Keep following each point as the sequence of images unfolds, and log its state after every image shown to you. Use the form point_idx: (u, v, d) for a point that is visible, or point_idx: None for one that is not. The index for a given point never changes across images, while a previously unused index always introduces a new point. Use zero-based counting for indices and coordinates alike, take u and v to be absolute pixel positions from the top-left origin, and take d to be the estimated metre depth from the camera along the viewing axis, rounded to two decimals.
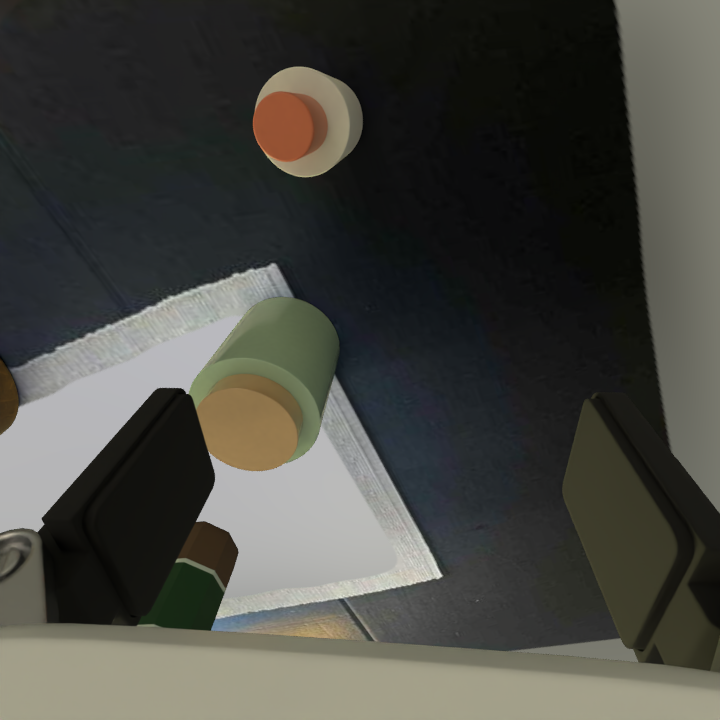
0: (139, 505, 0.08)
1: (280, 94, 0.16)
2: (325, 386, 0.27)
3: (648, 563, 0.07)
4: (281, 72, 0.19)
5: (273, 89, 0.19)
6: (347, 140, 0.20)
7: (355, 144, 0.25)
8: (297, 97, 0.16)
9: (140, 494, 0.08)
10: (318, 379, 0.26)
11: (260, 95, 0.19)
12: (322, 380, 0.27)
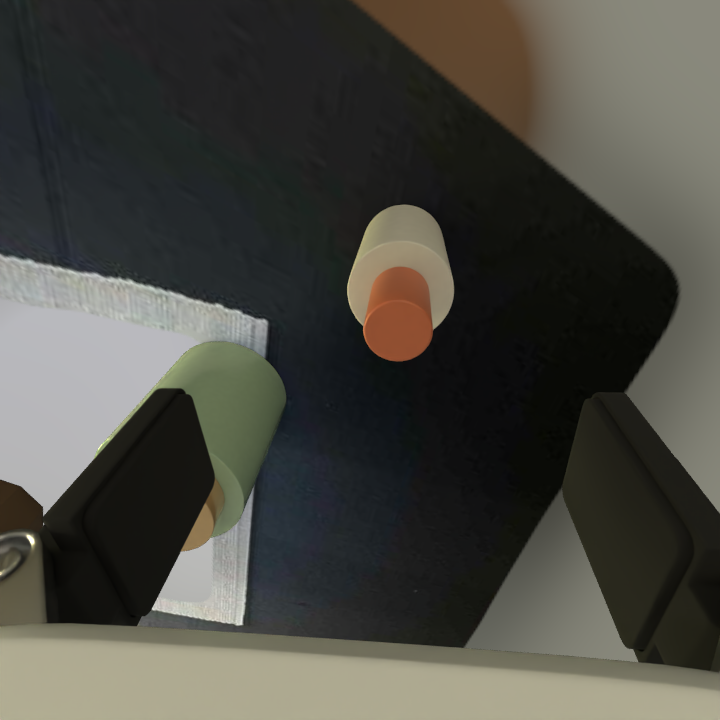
0: (139, 505, 0.08)
1: (417, 309, 0.14)
2: None
3: (648, 563, 0.07)
4: (415, 244, 0.17)
5: (397, 251, 0.17)
6: None
7: None
8: (430, 319, 0.15)
9: (140, 494, 0.08)
10: (255, 478, 0.24)
11: (381, 246, 0.17)
12: (257, 476, 0.25)
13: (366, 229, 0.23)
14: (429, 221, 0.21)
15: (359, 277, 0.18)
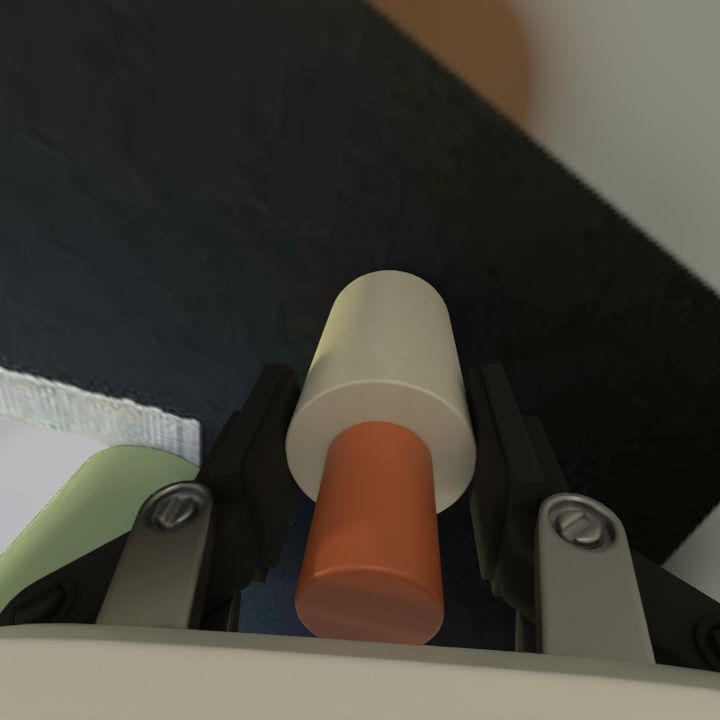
0: (272, 465, 0.09)
1: (410, 586, 0.06)
2: None
3: (489, 501, 0.08)
4: (405, 385, 0.09)
5: (371, 396, 0.09)
6: None
7: None
8: (438, 597, 0.07)
9: (273, 455, 0.09)
10: None
11: (341, 387, 0.09)
12: None
13: (332, 307, 0.15)
14: (429, 304, 0.13)
15: (304, 435, 0.10)
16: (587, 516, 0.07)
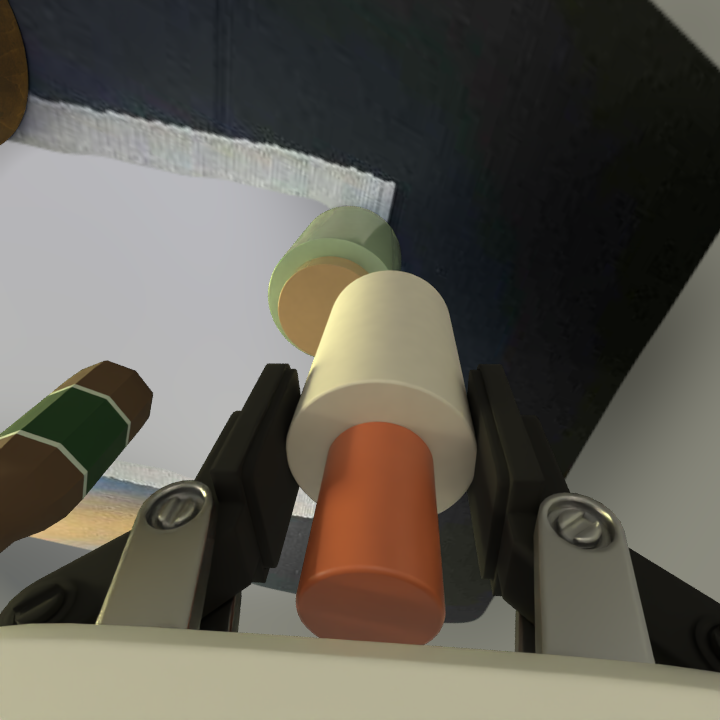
0: (273, 465, 0.09)
1: (412, 586, 0.06)
2: None
3: (489, 501, 0.08)
4: (406, 385, 0.09)
5: (372, 397, 0.09)
6: None
7: None
8: (439, 598, 0.07)
9: (273, 455, 0.09)
10: None
11: (342, 388, 0.09)
12: None
13: (333, 307, 0.15)
14: (430, 304, 0.13)
15: (304, 436, 0.10)
16: (586, 516, 0.07)
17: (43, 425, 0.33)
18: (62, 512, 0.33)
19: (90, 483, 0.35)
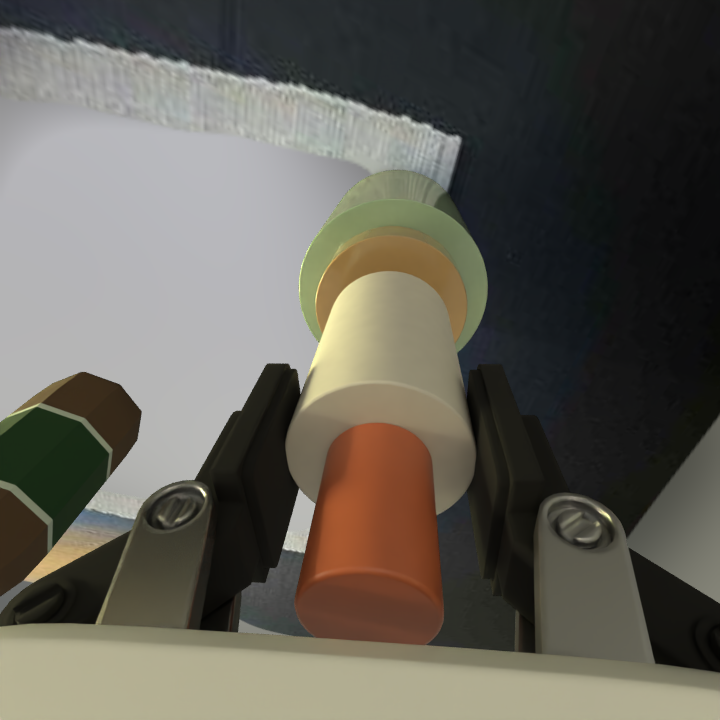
0: (273, 465, 0.09)
1: (410, 588, 0.06)
2: None
3: (489, 501, 0.08)
4: (405, 386, 0.09)
5: (371, 398, 0.09)
6: None
7: None
8: (438, 599, 0.07)
9: (273, 455, 0.09)
10: None
11: (341, 389, 0.09)
12: None
13: (332, 307, 0.15)
14: (429, 305, 0.13)
15: (303, 436, 0.10)
16: (586, 516, 0.07)
17: None
18: (18, 575, 0.25)
19: (58, 532, 0.27)
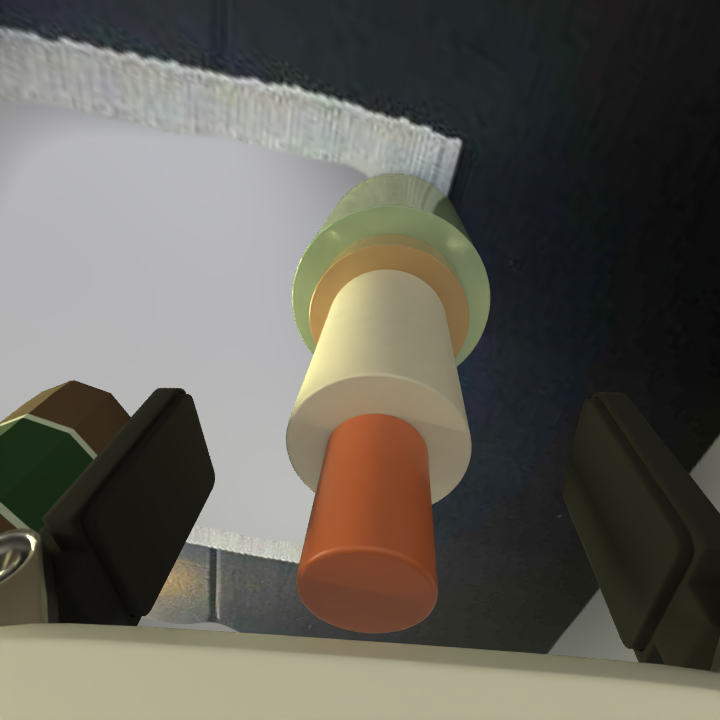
0: (139, 505, 0.08)
1: (406, 565, 0.07)
2: None
3: (648, 563, 0.07)
4: (402, 379, 0.09)
5: (369, 390, 0.09)
6: None
7: None
8: (432, 577, 0.07)
9: (140, 494, 0.08)
10: None
11: (340, 381, 0.09)
12: None
13: (332, 305, 0.15)
14: (426, 302, 0.14)
15: (304, 427, 0.10)
16: None
17: None
18: None
19: None
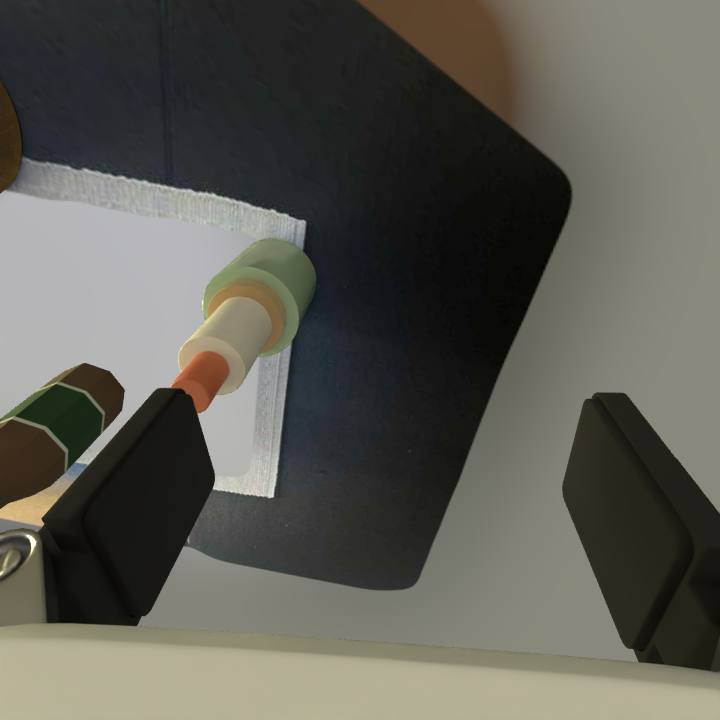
0: (139, 505, 0.08)
1: (196, 384, 0.24)
2: (301, 321, 0.38)
3: (648, 563, 0.07)
4: (213, 338, 0.27)
5: (203, 342, 0.27)
6: (235, 389, 0.29)
7: None
8: (206, 390, 0.25)
9: (140, 494, 0.08)
10: (302, 314, 0.37)
11: (193, 339, 0.27)
12: (303, 316, 0.38)
13: None
14: (249, 311, 0.31)
15: (183, 357, 0.28)
16: None
17: (32, 413, 0.42)
18: (48, 481, 0.41)
19: (70, 460, 0.44)
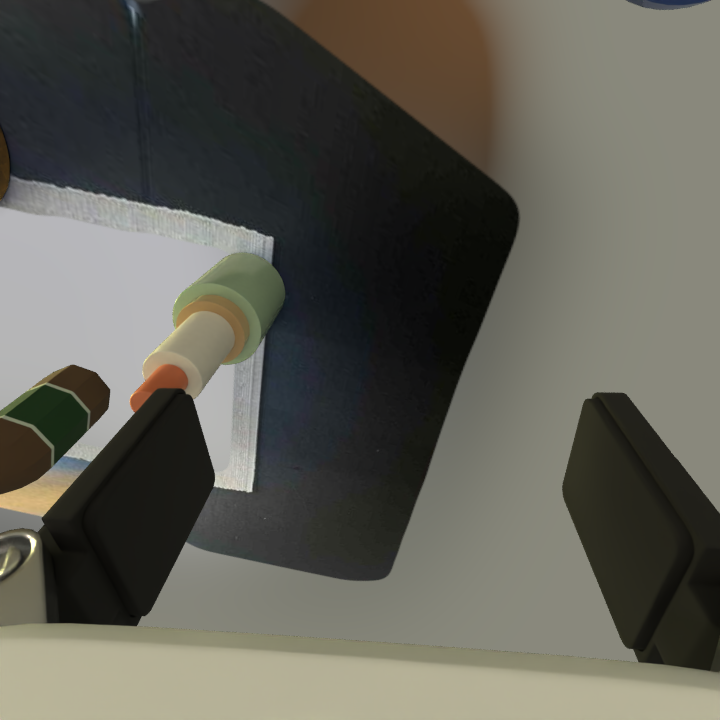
0: (139, 505, 0.08)
1: None
2: (266, 331, 0.41)
3: (648, 563, 0.07)
4: (172, 352, 0.30)
5: (164, 356, 0.30)
6: (195, 397, 0.32)
7: None
8: None
9: (140, 494, 0.08)
10: (266, 326, 0.40)
11: (154, 353, 0.30)
12: (267, 327, 0.41)
13: None
14: (211, 325, 0.34)
15: (147, 369, 0.31)
16: None
17: (21, 412, 0.45)
18: (35, 475, 0.45)
19: (57, 456, 0.47)
